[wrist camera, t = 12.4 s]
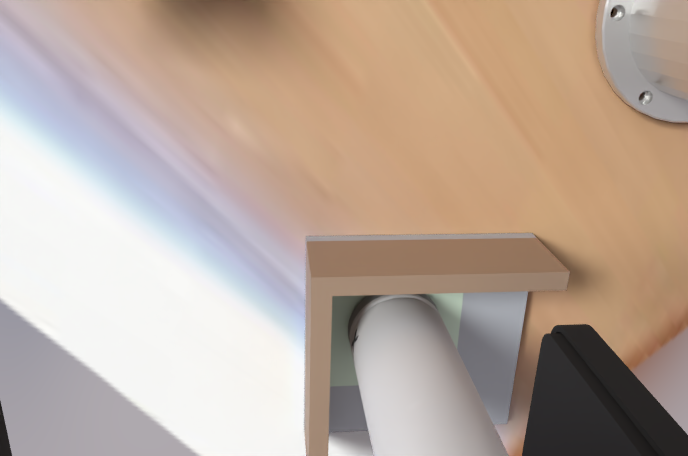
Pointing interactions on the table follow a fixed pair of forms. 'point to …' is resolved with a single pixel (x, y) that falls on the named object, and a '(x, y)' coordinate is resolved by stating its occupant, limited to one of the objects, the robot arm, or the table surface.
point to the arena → (444, 290)
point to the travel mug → (416, 382)
